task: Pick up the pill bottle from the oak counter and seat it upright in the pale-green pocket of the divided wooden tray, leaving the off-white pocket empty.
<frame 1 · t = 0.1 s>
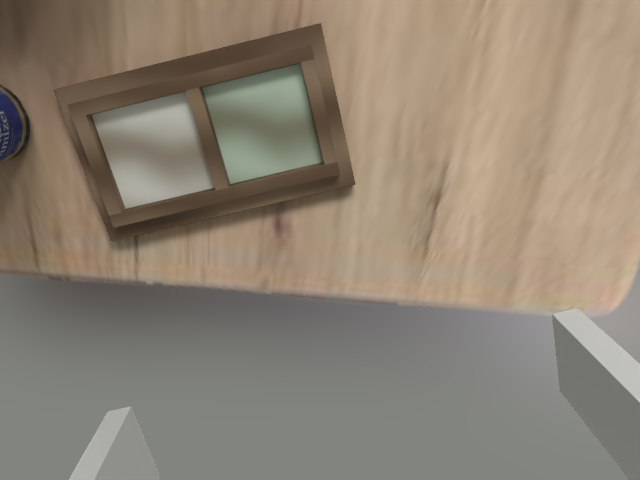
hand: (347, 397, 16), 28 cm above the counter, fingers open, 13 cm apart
divided wooden tray: (212, 136, 41), on the counter
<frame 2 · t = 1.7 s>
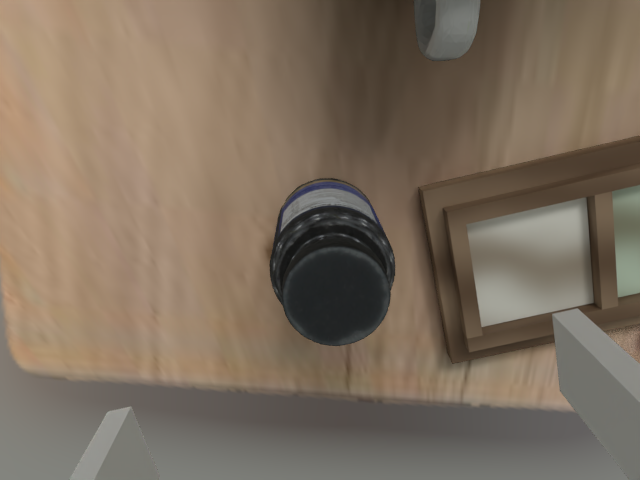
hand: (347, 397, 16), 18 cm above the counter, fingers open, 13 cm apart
divided wooden tray: (588, 240, 34), on the counter
pill bottle: (326, 223, 33), on the counter
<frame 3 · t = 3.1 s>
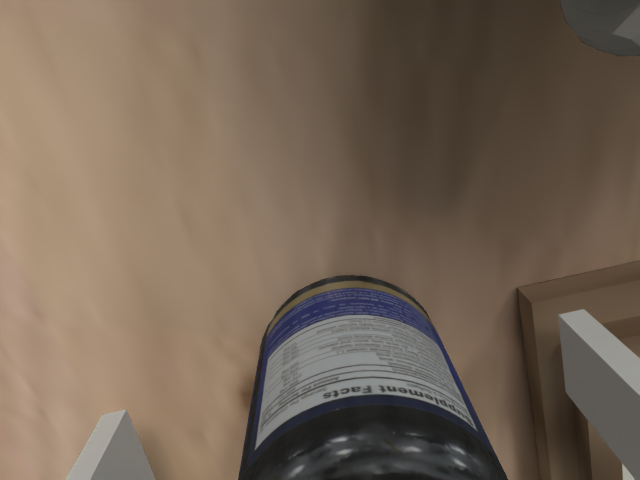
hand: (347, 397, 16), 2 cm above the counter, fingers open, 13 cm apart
pill bottle: (348, 347, 19), on the counter
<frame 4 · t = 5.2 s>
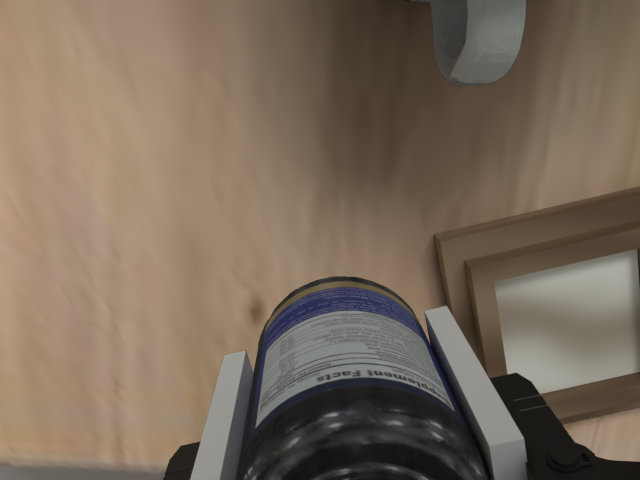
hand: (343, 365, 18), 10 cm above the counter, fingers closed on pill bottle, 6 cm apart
divided wooden tray: (635, 296, 28), on the counter
pill bottle: (340, 344, 20), point 8 cm above the counter, touching gripper
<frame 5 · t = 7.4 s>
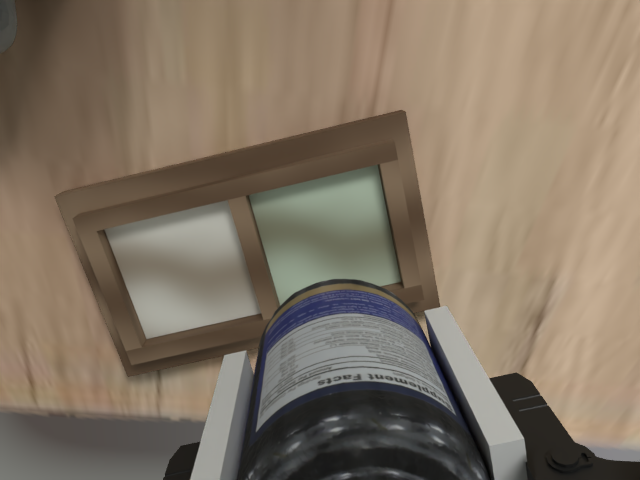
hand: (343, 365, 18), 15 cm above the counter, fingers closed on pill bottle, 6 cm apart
divided wooden tray: (257, 247, 32), on the counter
pill bottle: (340, 346, 20), point 13 cm above the counter, touching gripper
when the fingers open (4 cm above the counter, at t = 10.0 s): pill bottle stays where it is, resting on divided wooden tray.
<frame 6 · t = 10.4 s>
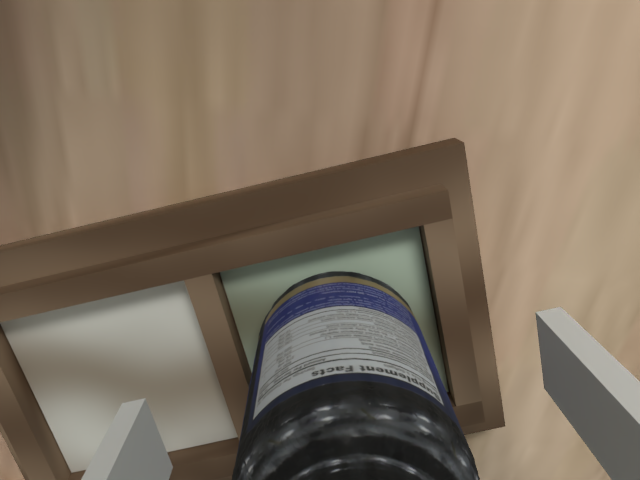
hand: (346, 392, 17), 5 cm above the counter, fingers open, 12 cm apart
divided wooden tray: (235, 339, 22), on the counter
pill bottle: (338, 336, 20), point 1 cm above the counter, touching divided wooden tray
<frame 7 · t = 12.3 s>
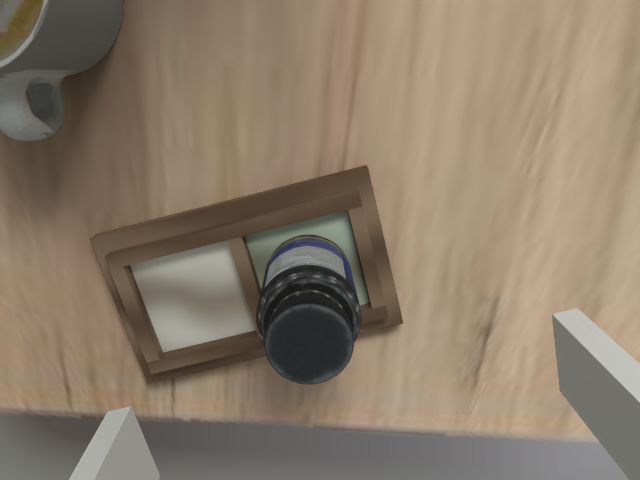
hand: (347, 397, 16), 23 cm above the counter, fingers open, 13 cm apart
divided wooden tray: (253, 276, 39), on the counter
pill bottle: (308, 271, 38), point 1 cm above the counter, touching divided wooden tray
coffee mug: (47, 24, 34), on the counter
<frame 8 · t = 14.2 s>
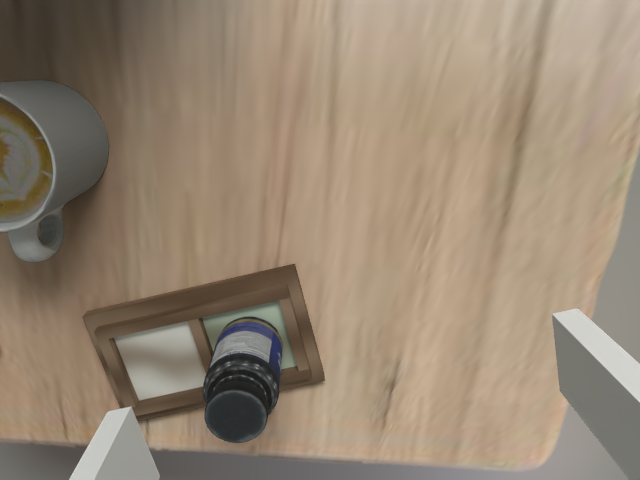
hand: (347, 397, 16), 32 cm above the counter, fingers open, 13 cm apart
divided wooden tray: (209, 343, 51), on the counter
pill bottle: (250, 342, 50), point 1 cm above the counter, touching divided wooden tray
coffee mug: (51, 161, 45), on the counter
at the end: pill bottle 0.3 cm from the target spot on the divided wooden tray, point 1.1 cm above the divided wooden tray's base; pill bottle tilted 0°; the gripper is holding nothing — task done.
